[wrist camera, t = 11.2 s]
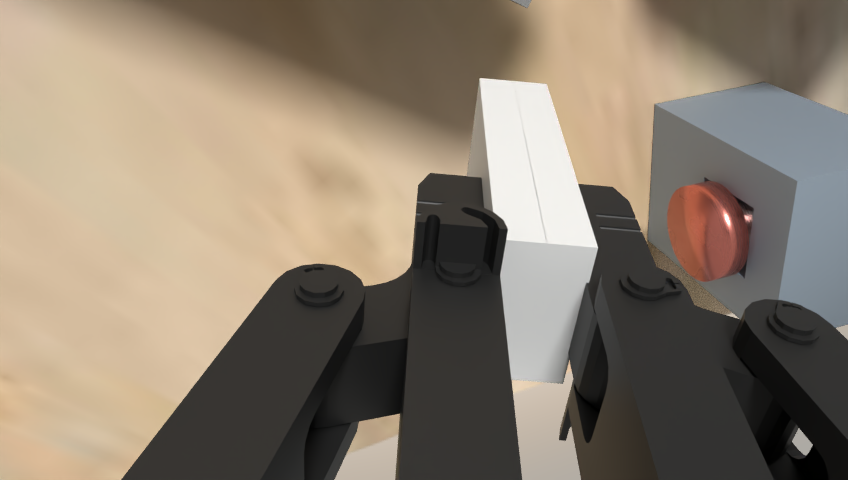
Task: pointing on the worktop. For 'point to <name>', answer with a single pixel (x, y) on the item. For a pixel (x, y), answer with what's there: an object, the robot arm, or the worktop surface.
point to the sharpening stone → (522, 2)
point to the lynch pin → (709, 230)
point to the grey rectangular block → (763, 190)
